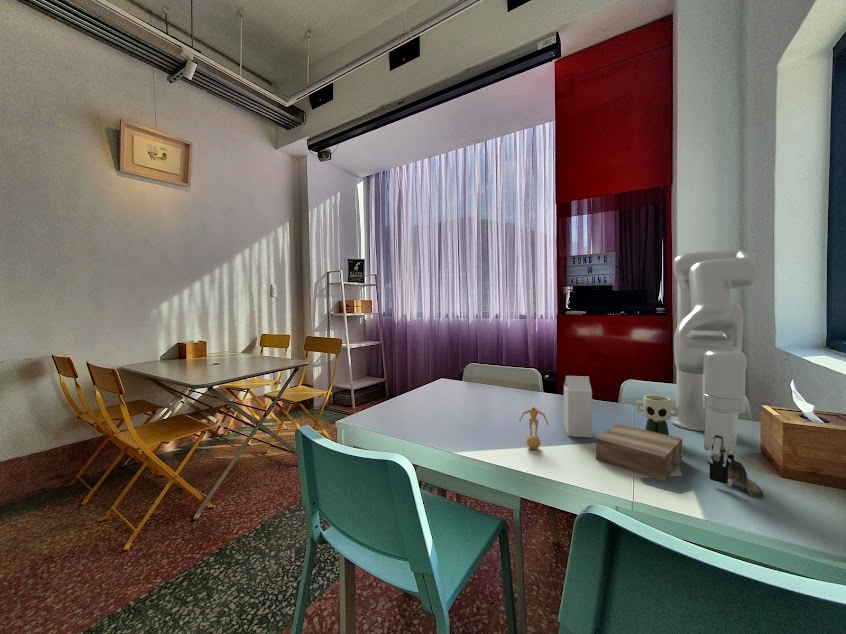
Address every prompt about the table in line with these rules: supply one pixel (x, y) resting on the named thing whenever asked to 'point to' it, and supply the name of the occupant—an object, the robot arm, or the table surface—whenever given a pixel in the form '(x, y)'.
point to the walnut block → (640, 451)
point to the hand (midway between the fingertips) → (721, 474)
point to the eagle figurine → (742, 478)
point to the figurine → (533, 439)
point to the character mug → (657, 412)
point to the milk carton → (578, 406)
